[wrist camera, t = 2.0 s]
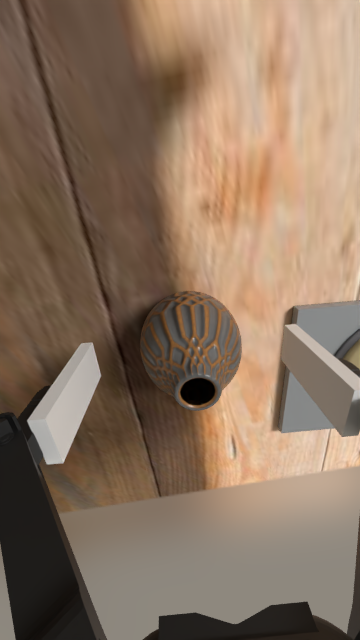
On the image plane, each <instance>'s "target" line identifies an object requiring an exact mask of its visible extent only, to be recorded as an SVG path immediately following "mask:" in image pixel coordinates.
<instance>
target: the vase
mask: <svg viewBox="0 0 360 640" xmlns="http://www.w3.org/2000/svg"><path fill="white" fill-rule="evenodd" d="M140 352H141V357H142V361H143V364H144V367H145V369H146V372H147V374H148V375H149V377H150V378H151V380H152V381H153V382H154V383H155V385H157V386H158V387H159V388H160V389H161V390H162V391H164V392H165V393H167V394H169V395H170V396H172V397H174V398H175V400H176V401H177V402H178V404H180V405H181V406H182V407H184V408H186V409H189V410H195V411H197V410H204V409H207V408H209V407H211V406H213V405H214V404H215V403H216V402H217V401H218V400H219V398H220V396H221V393H222V390H223V389H224V388H225V387H226V386H227V385H228V384H229V383H230V381H231V380H232V379H233V377H234V375H235V374H236V372H237V370H238V367H239V364H240V359H241V352H242V344H241V336H240V332H239V328H238V326H237V323H236V321H235V319H234V318H233V316H232V315H231V313H230V312H229V311H228V309H227V308H226V307H225V306H224V305H223V304H222V303H221V302H219V301H218V300H217V299H215V298H213V297H211V296H209V295H207V294H204V293H201V292H195V291H184V292H178V293H175V294H172V295H170V296H168V297H166V298H164V299H163V300H161V301H160V302H159V303H158V304H157V305H156V306H155V307H154V308H153V309H152V310H151V311H150V313H149V314H148V316H147V318H146V320H145V322H144V325H143V328H142V332H141V338H140Z"/></svg>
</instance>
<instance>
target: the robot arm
mask: <svg viewBox="0 0 360 640" xmlns="http://www.w3.org/2000/svg"><path fill="white" fill-rule="evenodd" d="M281 360H282V361H283V363H284V364H285V365H286V366H287V368H288V369H289V370H290V372H291V373H292V374H293V375H294V377H295V378H296V379H297V380H298V382H299V383H300V384H301V385H302V387H303V388H304V389H305V391H306V392H307V393H308V394H309V396H310V397H311V398H312V399H313V401H314V402H315V403H316V404H317V406H318V407H319V408H320V410H321V411H322V412H323V413H324V415H325V416H326V417H327V418H328V420H329V421H330V422H331V423H332V425H333V426H334V427H335V429H336V430H337V431H338V432H339V434H340V435H341V436H342V437H345V436H356V435H358V434H359V431H360V370H359V368H358V367H356V366H355V365H354V364H353V363H351V362H349V361H347V360H344V359H342V358H339V359H337V358H336V357H334V356H333V355H332V354H331V353H330V352H328V351H327V350H326V349H325V348H324V347H322V346H321V345H320V344H319V343H318V342H316V341H315V340H314V339H313V338H312V337H310V336H309V335H308V334H307V333H306V332H305V331H303V330H302V329H301V328H300V327H299V326H297V325H296V324H290V325H284V334H283V343H282V352H281ZM100 377H101V373H100V369H99V366H98V362H97V358H96V354H95V350H94V346H93V343H81V344H80V346H79V347H78V349H77V350H76V352H75V353H74V354H73V356H72V357H71V359H70V360H69V362H68V363H67V364H66V366H65V367H64V369H63V370H62V372H61V373H60V374H59V376H58V377H57V379H56V380H55V382H54V383H53V384H52V386H45V387H44V388H42V389H41V390H40V391H39V392H37V393H36V395H35V396H34V397H33V399H32V401H30V403H29V404H28V405H27V407H26V408H25V409H24V411H23V412H22V413H21V415H20V416H19V417H18V419H17V418H16V416H15V415H14V414H13V413H9V412H7V413H2V414H0V544H1V550H2V556H3V563H4V569H5V575H6V581H7V588H8V594H9V600H10V607H11V613H12V619H13V625H14V632H15V638H16V640H107V638H106V636H105V634H104V631H103V629H102V627H101V624H100V621H99V619H98V616H97V614H96V611H95V608H94V606H93V603H92V601H91V598H90V595H89V593H88V590H87V588H86V585H85V583H84V580H83V577H82V575H81V572H80V569H79V567H78V564H77V562H76V559H75V557H74V554H73V552H72V549H71V546H70V543H69V541H68V538H67V536H66V533H65V531H64V528H63V525H62V523H61V520H60V517H59V515H58V512H57V510H56V507H55V504H54V502H53V499H52V497H51V494H50V492H49V489H48V486H47V484H46V481H45V479H44V476H43V473H42V471H41V468H40V466H39V463H40V461H41V459H42V457H44V459H45V461H46V463H47V465H48V464H59V463H64V461H65V458H66V456H67V454H68V451H69V449H70V447H71V444H72V442H73V440H74V437H75V435H76V433H77V430H78V428H79V426H80V424H81V421H82V419H83V417H84V414H85V412H86V410H87V407H88V405H89V403H90V400H91V398H92V396H93V393H94V391H95V389H96V386H97V384H98V382H99V380H100ZM143 640H360V518H359V532H358V545H357V556H356V569H355V582H354V595H353V604H352V610H351V615H350V619H349V624H348V631H347V634H346V633H344V632H343V631H342V630H340V629H339V628H337V627H336V626H334V625H333V624H331V623H329V622H328V621H326V620H324V619H322V618H319V617H317V616H314V615H312V613H311V610H310V608H309V605H308V602H299V603H289V604H279V605H271V606H269V607H267V608H265V609H264V610H262V611H260V612H258V613H257V614H255V615H253V616H251V617H250V618H248V619H246V620H245V621H242V622H241V623H239V624H231V623H227V622H224V621H221V620H218V619H214V618H211V617H208V616H205V615H201V614H198V613H187V614H177V615H167V616H159V629H158V630H156V631H154V632H152V633H151V634H149V635H148V636H147V637H145V638H144V639H143Z"/></svg>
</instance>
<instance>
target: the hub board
mask: <svg viewBox="0 0 360 640" xmlns="http://www.w3.org/2000/svg"><path fill="white" fill-rule="evenodd" d="M292 324H296V325H297V326H299V327H300V328H301V329H302V330H303V331H305V332H306V333H307V334H308V335H309V336H310V337H312V338H313V339H314V340H315V341H316V342H318V343H319V344H320V345H321V346H322V347H324V348H325V349H326V350H327V351H328V352H330V353H331V354H332V355H333V356H334V357H336V358H337V359H339V358H342V359H344V360H347V361H349V362H351V363H353V364H354V365H355V366H356V367H358V368H359V370H360V300H358V301H347V302H336V303H324V304H313V305H302V306H294V309H293V317H292ZM278 428H279V429H280V431H281V433H288V432H299V431H310V430H321V429H332V428H335V427H334V426H333V425H332V423H331V422H330V421H329V420H328V418H327V417H326V416H325V415H324V413H323V412H322V411H321V410H320V408H319V407H318V406H317V404H316V403H315V402H314V401H313V399H312V398H311V397H310V396H309V394H308V393H307V392H306V391H305V389H304V388H303V387H302V385H301V384H300V383H299V382H298V380H297V379H296V378H295V377H294V375H293V374H292V373H291V372H290V370H289V369H288V368H287V366H286V370H285V378H284V386H283V393H282V401H281V409H280V416H279V424H278Z"/></svg>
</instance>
